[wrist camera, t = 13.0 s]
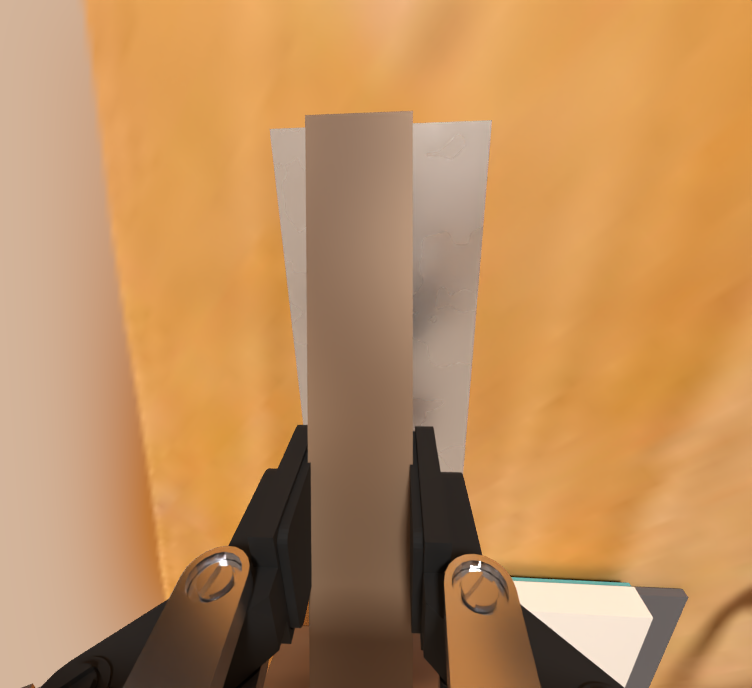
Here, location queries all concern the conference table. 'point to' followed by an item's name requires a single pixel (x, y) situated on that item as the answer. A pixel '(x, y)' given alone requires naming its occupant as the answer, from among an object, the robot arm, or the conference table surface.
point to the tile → (591, 618)
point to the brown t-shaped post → (358, 408)
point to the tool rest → (430, 267)
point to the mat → (656, 631)
